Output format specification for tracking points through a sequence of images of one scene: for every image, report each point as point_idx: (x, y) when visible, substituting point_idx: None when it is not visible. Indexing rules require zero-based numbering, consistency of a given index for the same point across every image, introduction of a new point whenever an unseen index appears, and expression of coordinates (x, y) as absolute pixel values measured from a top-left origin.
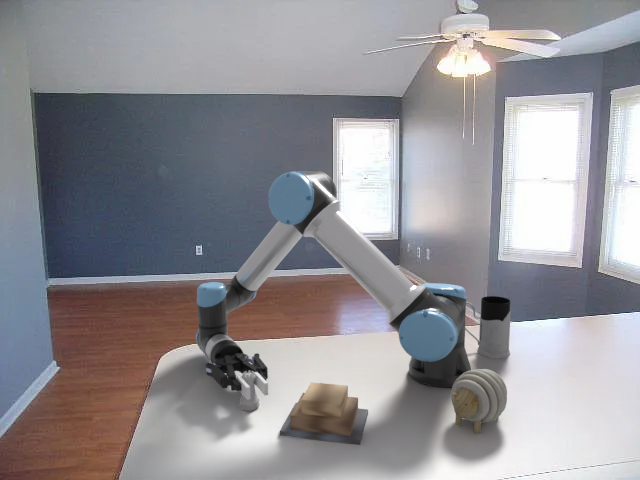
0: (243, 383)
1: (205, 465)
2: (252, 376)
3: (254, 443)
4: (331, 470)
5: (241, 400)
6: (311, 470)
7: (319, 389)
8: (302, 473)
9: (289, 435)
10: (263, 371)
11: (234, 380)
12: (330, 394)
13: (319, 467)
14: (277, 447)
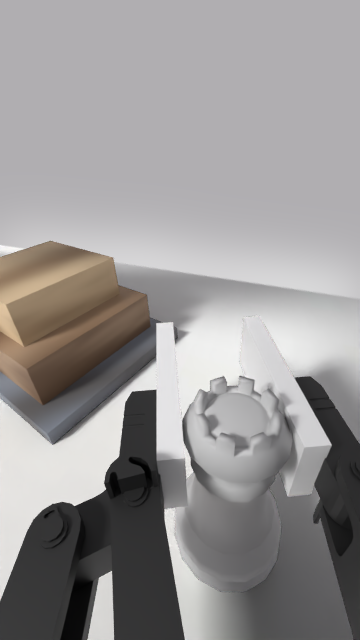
0: (274, 345)
1: (340, 308)
2: (213, 389)
3: (239, 332)
4: (141, 270)
5: (272, 502)
6: (166, 274)
7: (29, 275)
8: (180, 273)
9: None
10: (87, 512)
11: (339, 436)
12: (32, 259)
13: (153, 275)
14: (195, 314)
